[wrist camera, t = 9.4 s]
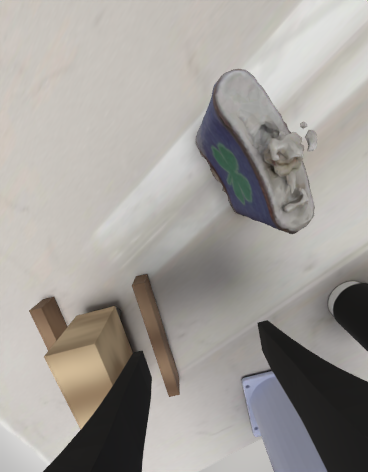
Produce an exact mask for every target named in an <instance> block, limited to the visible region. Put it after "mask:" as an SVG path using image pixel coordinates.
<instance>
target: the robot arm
mask: <svg viewBox="0 0 368 472" xmlns="http://www.w3.org/2000/svg"><path fill="white" fill-rule="evenodd" d="M258 329H259V334H260V340H261V345H262V351H263V353H264V355H265V357H266V359H267V361H268V363H269V366H270V368H271V369H272V371H270V372H266V373H262V374H258V375H254V376H249V377H245V378H243V379H242V385H243V389H244V394H245V399H246V403H247V408H248V412H249V417H250V421H251V426H252V431H253V434H254V436H256V437H258V436H262V439H263V442H264V445H265V448H266V450H267V453H268V456H269V459H270V462H271V465H272V467H273V470H274V472H368V382H367V381H364V380H362V379H360V378H358V377H356V376H354V375H352V374H350V373H348V372H346V371H344V370H342V369H340V368H338V367H336V366H334V365H332V364H331V363H329V362H327V361H325V360H324V359H322V358H320V357H319V356H317V355H315V354H314V353H312V352H311V351H309V350H307V349H306V348H304V347H303V346H301V345H300V344H299V343H297V342H296V341H294V340H293V339H291V338H290V337H289V336H287V335H286V334H285V333H283V332H282V331H281V330H279V329H278V328H277V327H275V326H274V325H273V324H272V323H270V322H269V321H263V322H259V323H258ZM151 383H152V377H151V374H150V371H149V368H148V365H147V362H146V359H145V357H144V354H143V351H139V352H135V353H133V354H132V355H131V357H130V358H129V360H128V362H127V363H126V365H125V367H124V368H123V370H122V372H121V373H120V375H119V376H118V378H117V380H116V381H115V383H114V384H113V386H112V388H111V389H110V391H109V392H108V394H107V395H106V397H105V398H104V399H103V401H102V402H101V404H100V405H99V407H98V408H97V409H96V411H95V412H94V414H93V415H92V416H91V417H90V419H89V420H88V421H87V423H86V424H85V425H84V426H83V428H82V429H81V430H80V431H79V432H78V434H77V435H76V436H75V437H74V438H73V439H72V441H71V442H70V443H69V444H68V445H67V446H66V447H65V449H64V450H63V451H62V452H61V453H60V454H59V455H58V456H57V457H56V459H55V460H54V461H53V462H52V463H51V464H50V465H49V466H48V467H47V468H46V469H45V470H44V471H43V472H142V459H143V450H144V443H145V436H146V429H147V422H148V415H149V408H150V400H151Z"/></svg>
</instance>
